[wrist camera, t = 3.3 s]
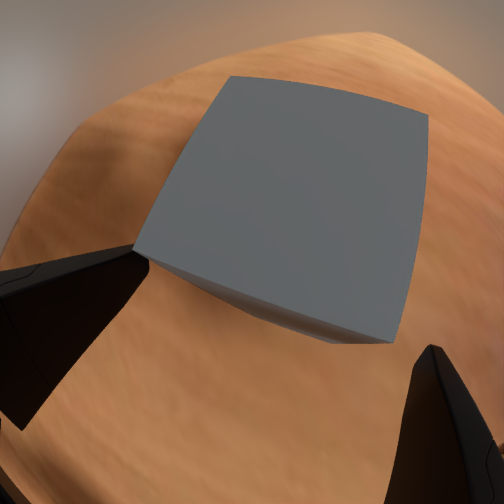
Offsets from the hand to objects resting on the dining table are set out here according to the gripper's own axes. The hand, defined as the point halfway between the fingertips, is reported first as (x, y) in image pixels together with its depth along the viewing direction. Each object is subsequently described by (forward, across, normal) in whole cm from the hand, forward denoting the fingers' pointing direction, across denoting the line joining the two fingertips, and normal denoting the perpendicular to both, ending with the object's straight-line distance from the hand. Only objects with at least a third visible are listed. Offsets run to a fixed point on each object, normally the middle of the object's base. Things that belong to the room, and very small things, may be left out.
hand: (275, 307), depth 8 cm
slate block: (+8, 0, +5) cm, 10 cm away
